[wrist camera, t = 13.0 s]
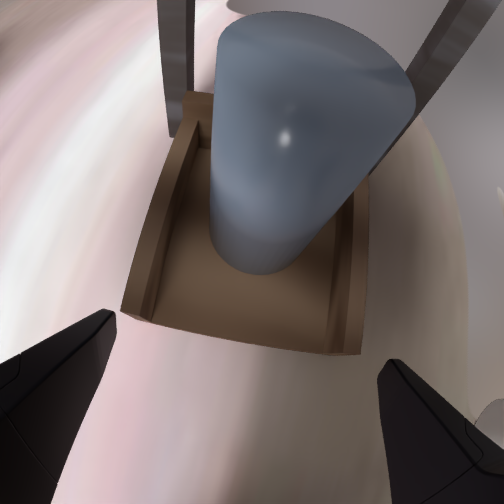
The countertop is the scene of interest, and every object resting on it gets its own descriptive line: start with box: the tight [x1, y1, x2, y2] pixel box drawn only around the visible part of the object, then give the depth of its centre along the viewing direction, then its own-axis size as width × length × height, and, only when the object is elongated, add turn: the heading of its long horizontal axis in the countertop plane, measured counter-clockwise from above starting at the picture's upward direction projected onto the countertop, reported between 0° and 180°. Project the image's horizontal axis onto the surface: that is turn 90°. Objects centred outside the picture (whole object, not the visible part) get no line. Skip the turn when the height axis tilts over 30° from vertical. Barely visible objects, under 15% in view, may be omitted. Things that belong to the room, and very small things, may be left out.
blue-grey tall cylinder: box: [209, 11, 416, 275], centre depth 13 cm, size 6×6×12 cm
